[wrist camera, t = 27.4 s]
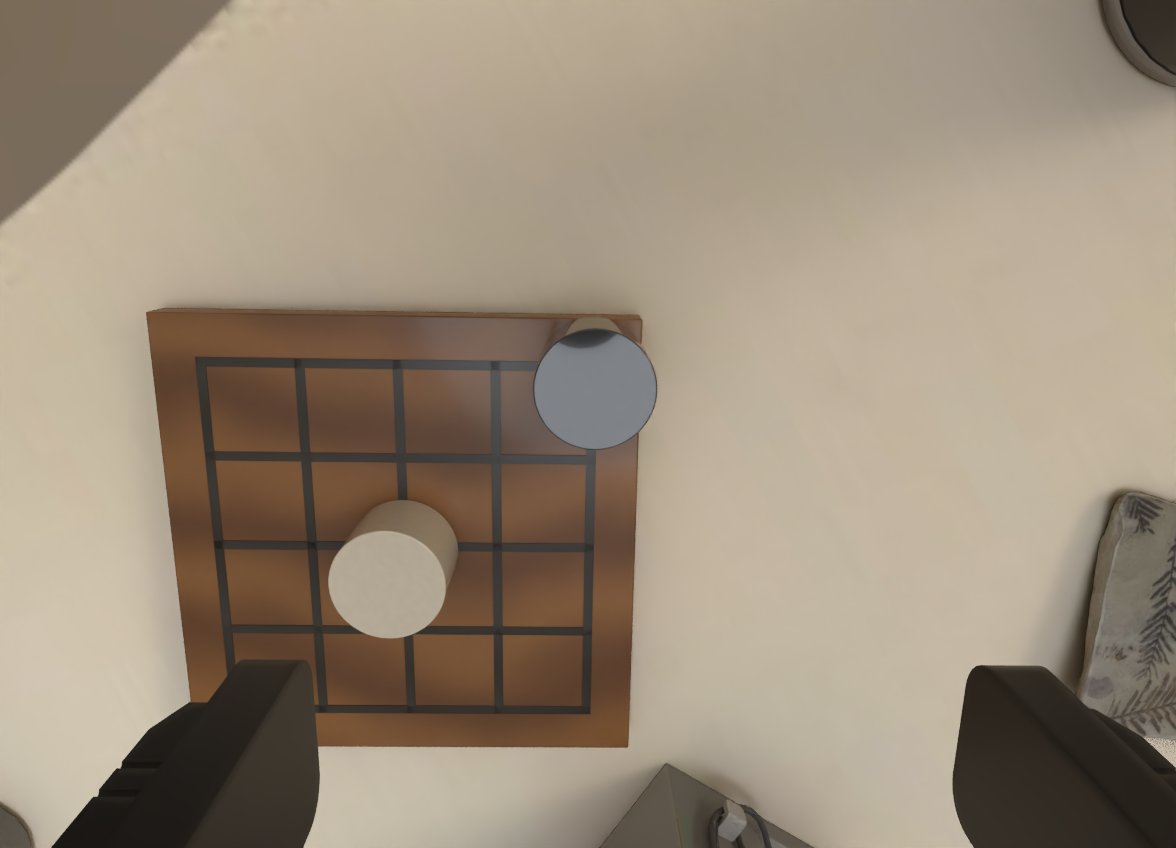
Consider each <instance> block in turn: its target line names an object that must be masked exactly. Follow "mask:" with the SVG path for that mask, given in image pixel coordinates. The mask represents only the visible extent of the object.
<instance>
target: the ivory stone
mask: <svg viewBox="0 0 1176 848" xmlns="http://www.w3.org/2000/svg"><path fill="white" fill-rule="evenodd" d="M457 559H458V544H457V540H456V536H455V534H454V531H453V530H452V528H451V526H450V524H449V523H448V522H447V520H446V519H445V518H444V517H443V516H442V515H441V514H439V513H438V512H437V511H436V510H434V509H432V508H431V507H429V506H427V505H425V504H422V503H419V502H415V501H410V500H395V501H389V502H386V503H383V504H381V505H378V506H376V507H375V508H373V509H371V510H370V511H369V512H368V513H367V514H365V515H364V517H363V518H362V519H361V520H360V521H359V523H358V524H357V526H356V527H355V529H354V530H353V532H352V533H351V534H350V536H349V537H348V539H347V540H346V542H345V543H344V544H343V546H342V547H341V549H340V550H339V552H338V553H337V555H336V556H335V558H334V560H333V562H332V564H331V567H330V570H329V577H328V586H329V593H330V596H331V600H332V602H333V604H334V606H335V608H336V610H337V611H338V613H339V614H340V615H341V616H342V618H343V619H344V620H345V621H346V622H347V623H349V624H350V625H351V626H353V627H354V628H356V629H357V630H359V631H361V632H363V633H365V634H368V635H371V636H374V637H379V638H400V637H405V636H409V635H412V634H414V633H416V632H419V631H420V630H422V629H423V628H425V627H426V626H427V625H429V624H430V623H431V622H432V621H433V620H434V619H435V618H436V616H437V615H438V613H439V612H440V610H441V608H442V606H443V603H444V600H445V597H446V594H447V591H448V588H449V585H450V582H451V579H452V576H453V573H454V570H455V567H456V564H457Z"/></svg>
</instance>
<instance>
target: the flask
mask: <svg viewBox="0 0 1176 848" xmlns="http://www.w3.org/2000/svg"><path fill="white" fill-rule="evenodd" d="M0 848H31V845H30V841H29V837H28V834H27V832H26V830H25V829H24V828H23V826H22V825H21V824H20V822H19V821H18V820H17V818H16V817H14V816H13V815H12V814H10V813H9V812H7V811H6V810H4V809H3V808H1V807H0Z"/></svg>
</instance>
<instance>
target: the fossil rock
mask: <svg viewBox="0 0 1176 848" xmlns="http://www.w3.org/2000/svg"><path fill="white" fill-rule="evenodd" d="M1083 661H1084V668H1083V672H1082V675H1081V677H1080V679H1079V681H1078V683H1077V692H1076V697H1078V698H1079V699H1080V700H1081V701H1082V702H1083V703H1084V704H1085V705H1086V706H1087V707H1088V708H1089V709H1095V710H1097V711H1099V712H1101V713H1102V714H1104V715H1106V716H1108V717H1109V718H1111V719H1113V720H1114V721H1116V722H1118V723H1120V724H1121V725H1123V726H1125V727H1127V728H1128V729H1130V730H1132V731H1133V732H1135V733H1137V734H1139V735H1140V736H1142V737H1149V738H1160V739H1170V740H1176V503H1173V502H1168V501H1165V500H1163V499H1160V498H1158V497H1155V496H1151V495H1147V494H1144V493H1139V492H1132V493H1127V494H1126V495H1124V496H1122V497H1121V498H1120V499H1118V500H1117V501H1116V503H1115V505H1114V507H1113V509H1112V511H1111V515H1110V519H1109V524H1108V526H1107V528H1106V530H1105V534H1104V535H1103V537H1102V538H1101V540H1100V543H1099V549H1098V557H1097V563H1096V568H1095V577H1094V584H1093V592H1092V596H1091V602H1090V609H1089V618H1088V626H1087V630H1086V639H1085V655H1084V660H1083Z"/></svg>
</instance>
